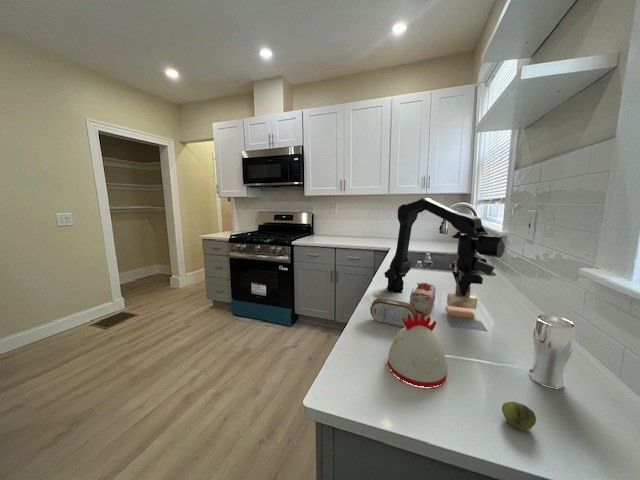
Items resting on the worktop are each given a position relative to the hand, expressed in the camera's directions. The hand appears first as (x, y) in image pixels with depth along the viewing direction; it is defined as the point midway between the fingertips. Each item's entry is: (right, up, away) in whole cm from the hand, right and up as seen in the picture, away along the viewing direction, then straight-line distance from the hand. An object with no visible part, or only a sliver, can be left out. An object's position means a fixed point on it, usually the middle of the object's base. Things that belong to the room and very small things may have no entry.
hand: (462, 294), depth 90 cm
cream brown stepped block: (0, -5, +1) cm, 5 cm away
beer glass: (+2, -14, -31) cm, 34 cm away
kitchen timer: (-27, -13, -27) cm, 40 cm away
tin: (-27, -9, -5) cm, 29 cm away
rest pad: (-2, -9, -6) cm, 11 cm away
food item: (-11, -7, +7) cm, 15 cm away
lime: (-14, -16, -43) cm, 48 cm away
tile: (+1, -7, +5) cm, 8 cm away
